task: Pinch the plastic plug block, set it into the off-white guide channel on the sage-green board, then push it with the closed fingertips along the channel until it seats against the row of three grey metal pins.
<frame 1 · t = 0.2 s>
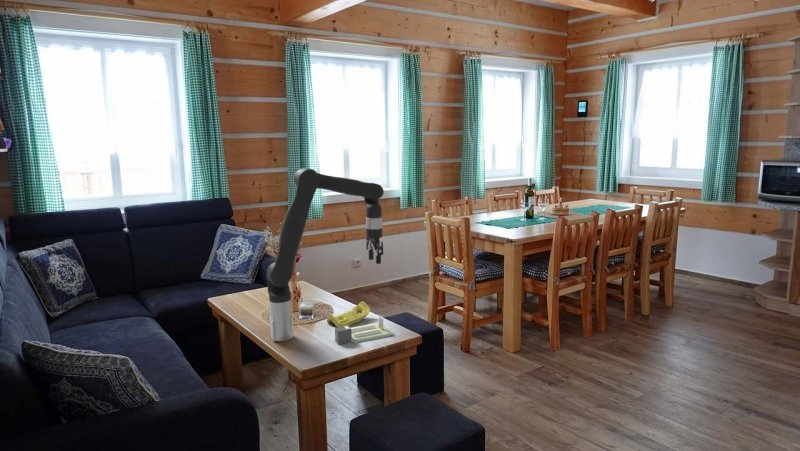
hand: (374, 261, 251), 29 cm above the table, fingers open, 8 cm apart
plug: (343, 342, 231), on the table
plastic component: (349, 322, 256), on the table
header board: (368, 333, 240), on the table
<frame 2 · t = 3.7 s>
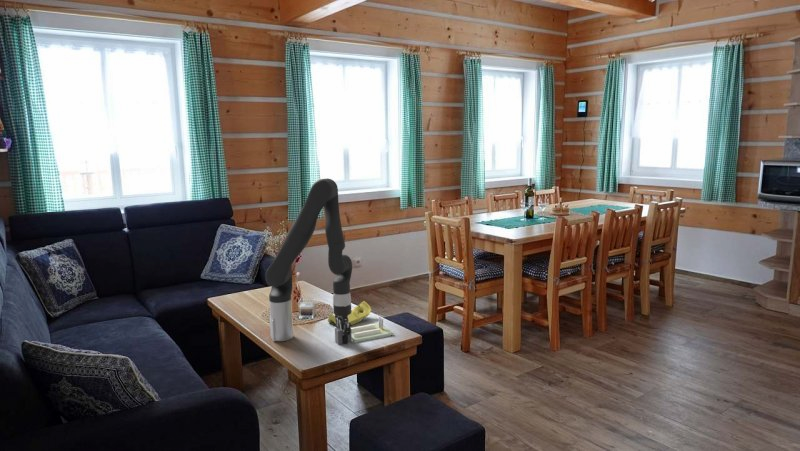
hand: (343, 341, 231), 0 cm above the table, fingers closed on plug, 4 cm apart
plug: (343, 342, 231), on the table, touching gripper
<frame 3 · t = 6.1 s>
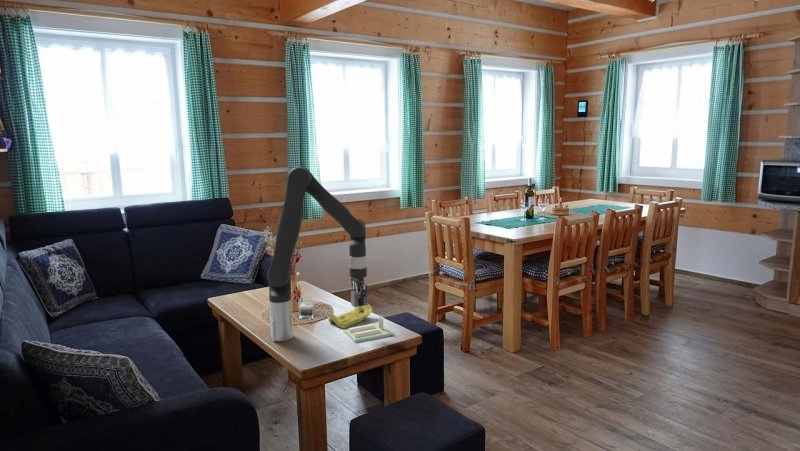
hand: (359, 304, 236), 14 cm above the table, fingers closed on plug, 4 cm apart
plug: (359, 304, 236), point 14 cm above the table, touching gripper
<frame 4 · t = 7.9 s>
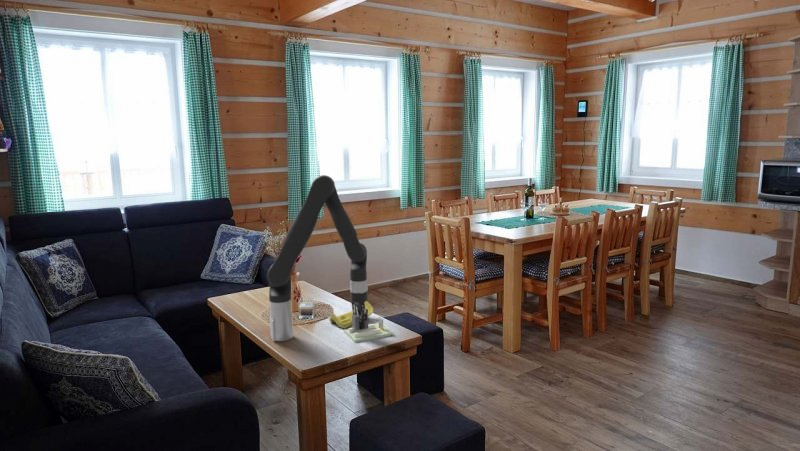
hand: (360, 327, 238), 4 cm above the table, fingers closed on plug, 4 cm apart
plug: (360, 328, 238), point 3 cm above the table, touching gripper
when the fingers open (3 cm above the table, at t = 8.3 s): plug drops 2 cm, resting on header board.
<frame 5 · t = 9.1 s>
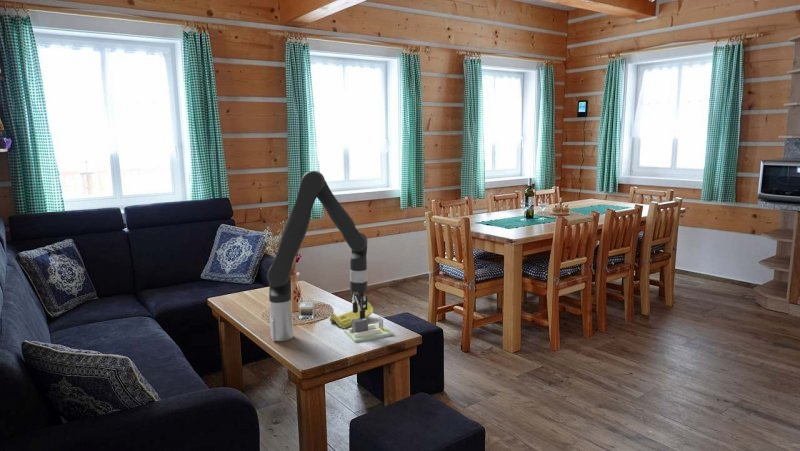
hand: (358, 315, 236), 9 cm above the table, fingers open, 8 cm apart
plug: (360, 332, 238), point 1 cm above the table, touching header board
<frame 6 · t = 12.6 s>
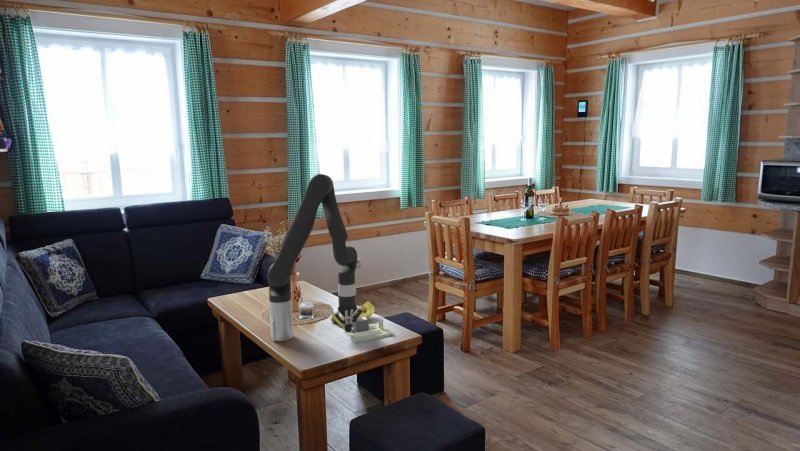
hand: (348, 331, 235), 3 cm above the table, fingers closed
plug: (361, 332, 238), point 1 cm above the table, touching gripper, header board
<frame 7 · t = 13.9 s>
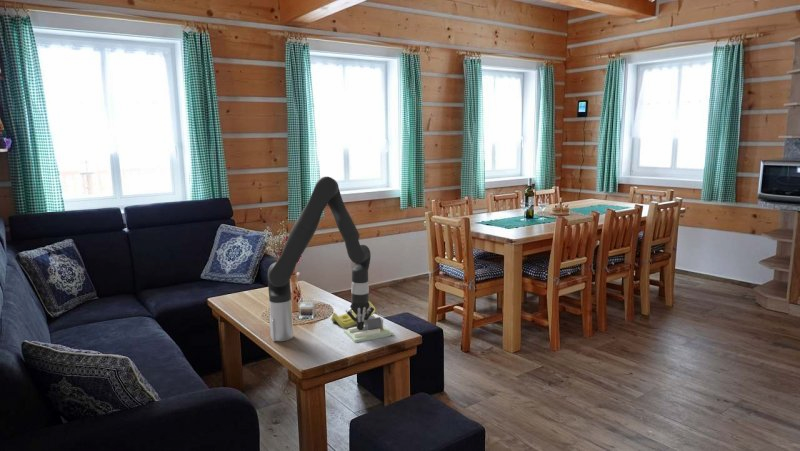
hand: (360, 329, 238), 3 cm above the table, fingers closed
plug: (372, 330, 241), point 1 cm above the table, touching gripper, hand, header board
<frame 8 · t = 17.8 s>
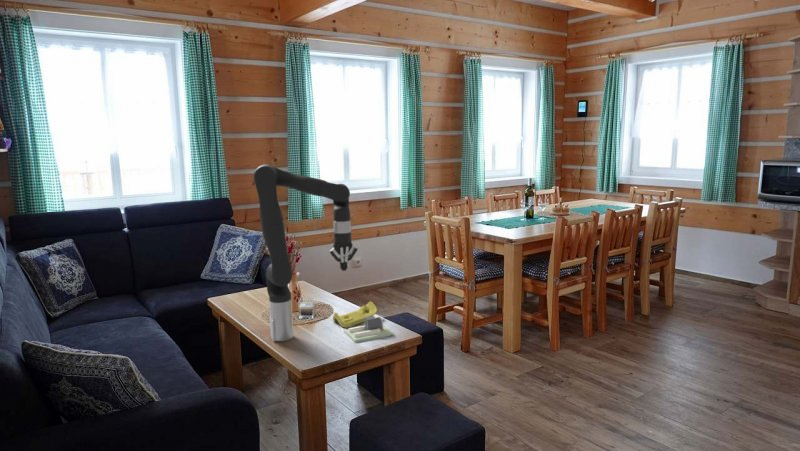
hand: (343, 270, 235), 29 cm above the table, fingers closed
plug: (372, 330, 241), point 1 cm above the table, touching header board
at the end: plug 0.2 cm from the target spot on the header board, point 1.2 cm above the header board's base; plug tilted 0°; the gripper is holding nothing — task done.
